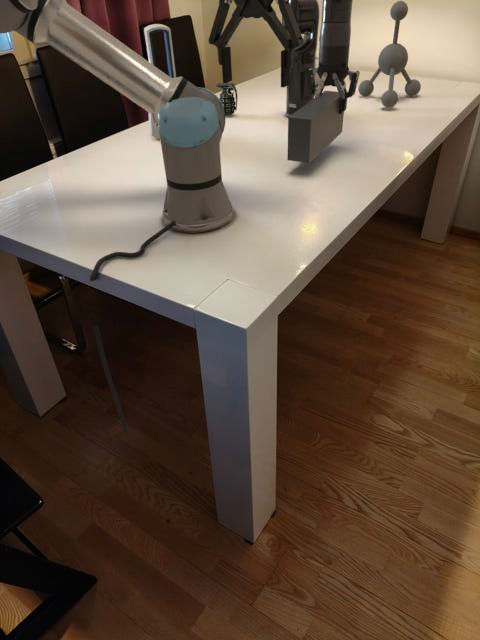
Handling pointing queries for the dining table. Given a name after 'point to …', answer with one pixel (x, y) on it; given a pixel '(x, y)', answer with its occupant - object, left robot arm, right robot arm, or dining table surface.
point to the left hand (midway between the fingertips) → (255, 83)
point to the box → (314, 127)
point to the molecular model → (392, 63)
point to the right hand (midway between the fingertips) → (329, 111)
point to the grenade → (228, 98)
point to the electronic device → (150, 51)
